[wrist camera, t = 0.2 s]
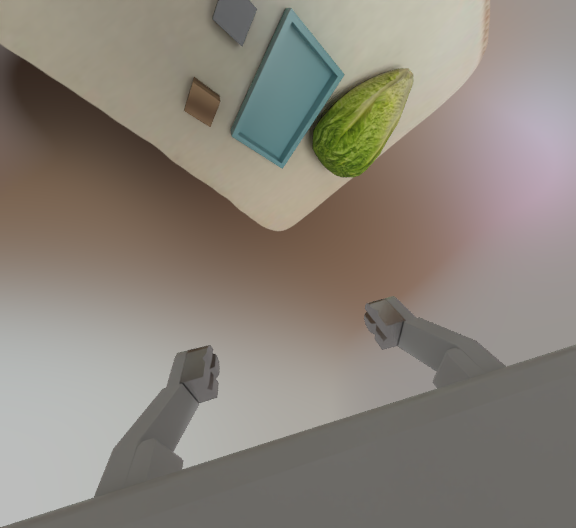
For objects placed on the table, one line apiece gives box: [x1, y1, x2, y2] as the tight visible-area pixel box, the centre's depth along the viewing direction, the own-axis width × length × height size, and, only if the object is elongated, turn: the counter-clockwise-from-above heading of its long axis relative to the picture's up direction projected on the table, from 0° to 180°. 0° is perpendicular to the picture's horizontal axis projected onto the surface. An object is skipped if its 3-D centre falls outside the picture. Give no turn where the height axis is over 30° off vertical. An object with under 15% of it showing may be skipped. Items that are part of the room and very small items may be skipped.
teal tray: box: [231, 8, 344, 169], centre depth 44 cm, size 22×14×4 cm, turn 143°
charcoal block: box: [212, 0, 257, 46], centre depth 33 cm, size 5×5×5 cm
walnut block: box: [184, 77, 220, 127], centre depth 41 cm, size 5×5×5 cm
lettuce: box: [313, 68, 413, 177], centre depth 48 cm, size 15×24×16 cm
